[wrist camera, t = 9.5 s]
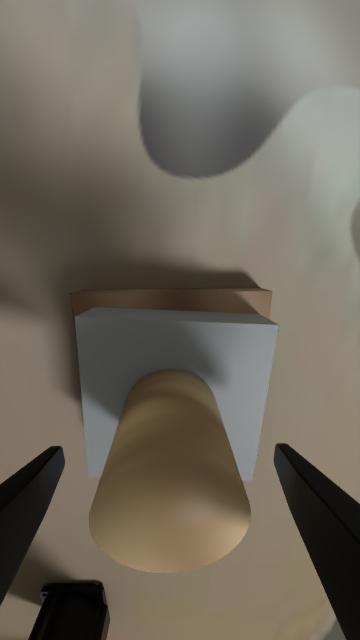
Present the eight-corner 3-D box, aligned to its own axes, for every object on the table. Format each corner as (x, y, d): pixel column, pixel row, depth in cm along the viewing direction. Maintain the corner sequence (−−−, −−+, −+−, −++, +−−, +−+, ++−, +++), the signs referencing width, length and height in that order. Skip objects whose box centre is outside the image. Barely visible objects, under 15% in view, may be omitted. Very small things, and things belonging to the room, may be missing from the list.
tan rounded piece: (128, 448, 12) (98, 577, 7) (120, 370, 10) (77, 465, 6) (214, 444, 12) (244, 568, 7) (218, 368, 11) (258, 456, 6)
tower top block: (103, 443, 15) (88, 477, 12) (94, 307, 12) (74, 316, 10) (240, 446, 15) (252, 481, 13) (259, 313, 13) (278, 324, 10)
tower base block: (105, 429, 18) (93, 455, 15) (88, 289, 15) (70, 293, 12) (245, 427, 18) (255, 453, 15) (256, 286, 15) (272, 290, 12)
